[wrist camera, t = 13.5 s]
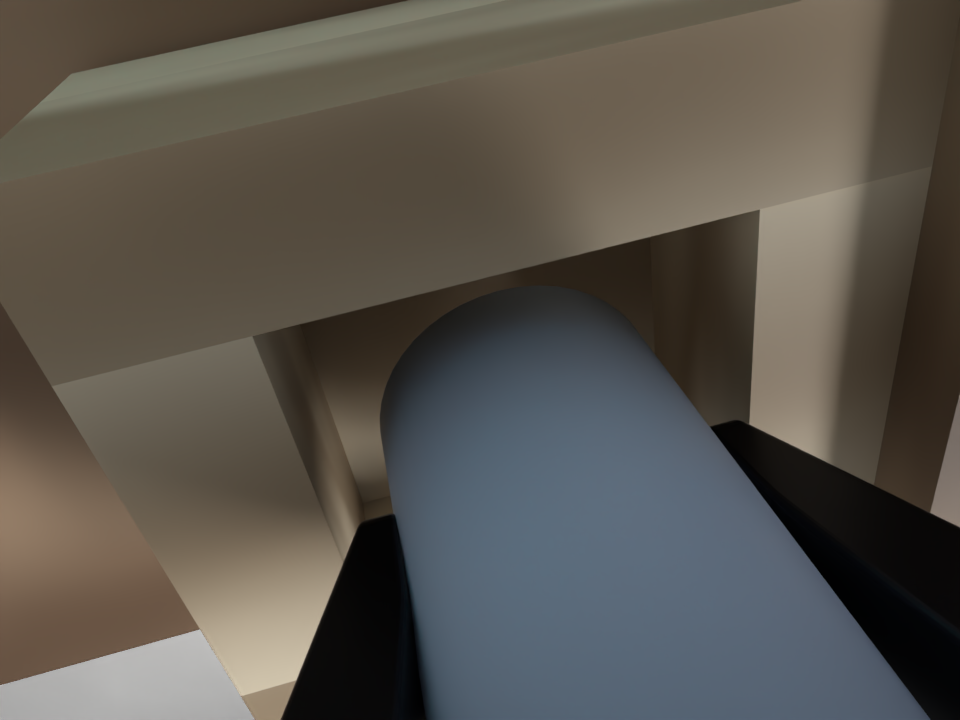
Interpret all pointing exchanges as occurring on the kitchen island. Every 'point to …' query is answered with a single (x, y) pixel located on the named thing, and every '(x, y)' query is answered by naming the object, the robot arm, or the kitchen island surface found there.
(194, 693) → the kitchen island surface
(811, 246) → the open box
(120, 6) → the board
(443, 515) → the light blue cylinder
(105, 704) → the kitchen island surface
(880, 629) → the robot arm
